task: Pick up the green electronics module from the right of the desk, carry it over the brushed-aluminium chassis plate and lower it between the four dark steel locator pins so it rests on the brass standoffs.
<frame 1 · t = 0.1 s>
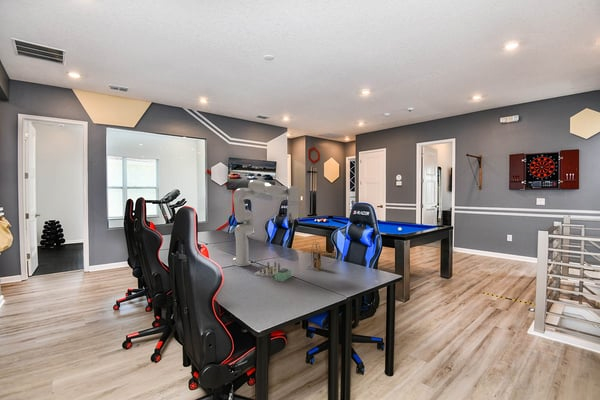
hand: (293, 227, 207), 31 cm above the table, tool pointing down, fingers open, 9 cm apart
multimeter: (312, 269, 212), on the table
module: (283, 278, 190), on the table
chassis: (270, 272, 204), on the table
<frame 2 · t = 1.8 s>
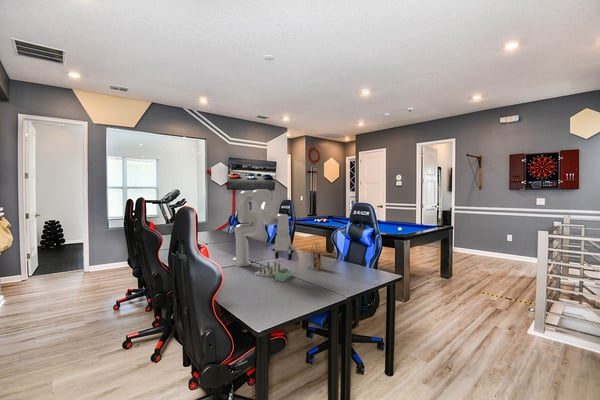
hand: (283, 259, 190), 13 cm above the table, tool pointing down, fingers open, 9 cm apart
nothing on the table moved.
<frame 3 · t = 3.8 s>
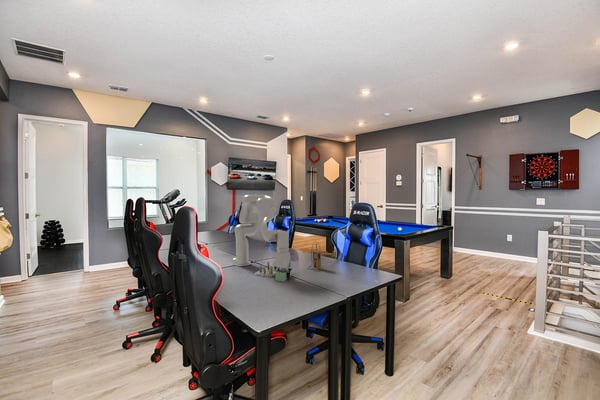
hand: (283, 276, 190), 1 cm above the table, tool pointing down, fingers closed on module, 6 cm apart
module: (283, 278, 190), on the table, touching gripper
everything else where it was.
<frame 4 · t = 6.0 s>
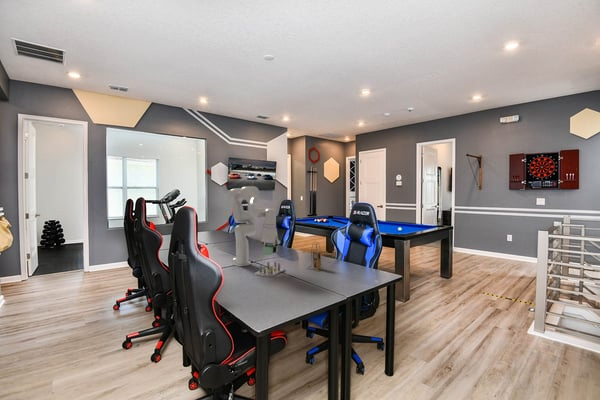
hand: (270, 251, 203), 15 cm above the table, tool pointing down, fingers closed on module, 6 cm apart
module: (270, 252, 203), point 14 cm above the table, touching gripper
everything else where it was.
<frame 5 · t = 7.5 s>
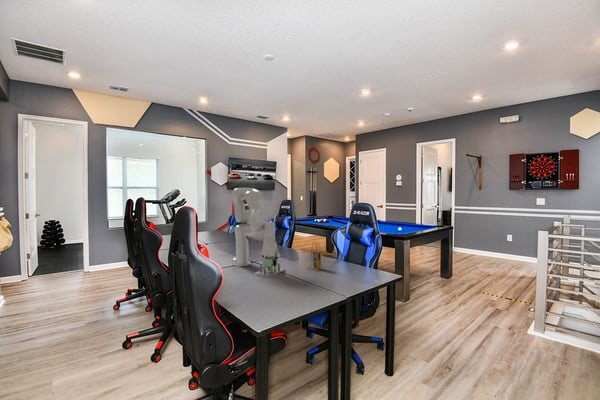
hand: (270, 264, 204), 5 cm above the table, tool pointing down, fingers closed on module, 6 cm apart
module: (270, 265, 204), point 5 cm above the table, tilted 7°, touching chassis, gripper
everything else where it was.
when the fingers open (5 cm above the table, at t = 8.5 s): module drops 2 cm, resting on chassis.
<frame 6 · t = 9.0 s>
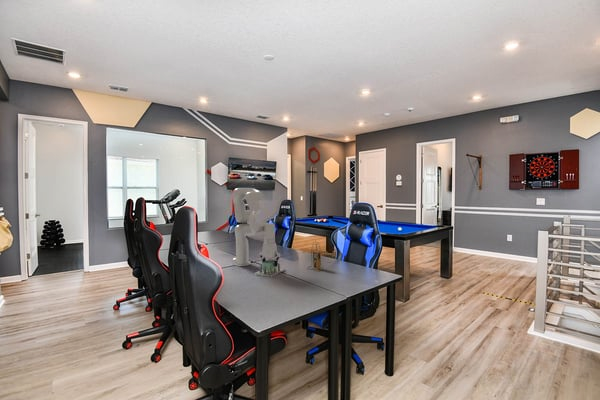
hand: (269, 265, 204), 5 cm above the table, tool pointing down, fingers open, 9 cm apart
module: (270, 268, 204), point 3 cm above the table, touching chassis
everything else where it was.
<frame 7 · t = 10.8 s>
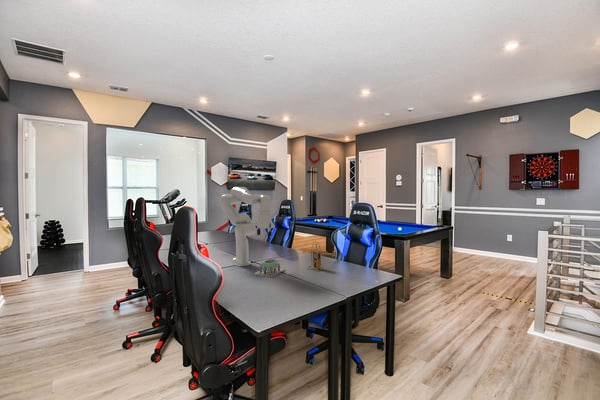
hand: (264, 235, 211), 25 cm above the table, tool pointing down, fingers open, 9 cm apart
nothing on the table moved.
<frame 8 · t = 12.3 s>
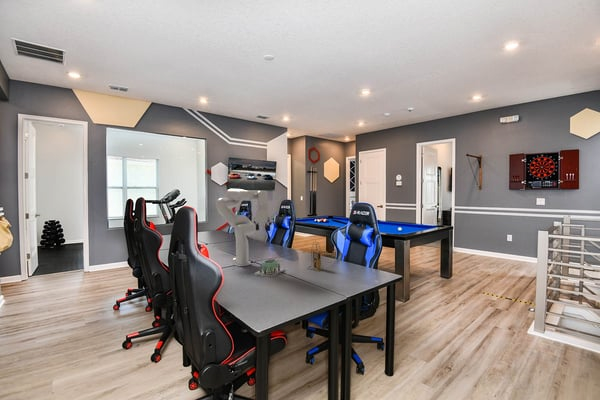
hand: (263, 230, 214), 28 cm above the table, tool pointing down, fingers open, 9 cm apart
nothing on the table moved.
at the end: module 0.3 cm off-centre on the chassis, point 3.0 cm above the chassis's base; module tilted 0°; the gripper is holding nothing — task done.
